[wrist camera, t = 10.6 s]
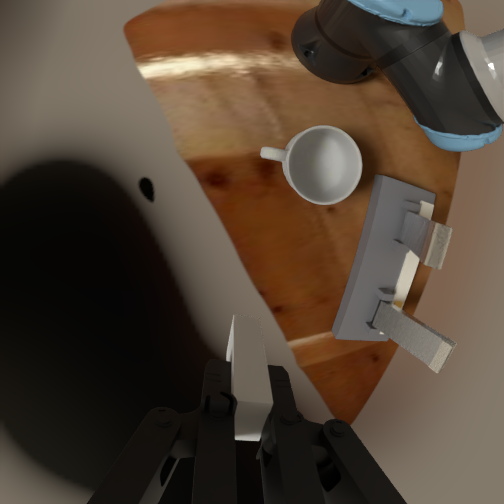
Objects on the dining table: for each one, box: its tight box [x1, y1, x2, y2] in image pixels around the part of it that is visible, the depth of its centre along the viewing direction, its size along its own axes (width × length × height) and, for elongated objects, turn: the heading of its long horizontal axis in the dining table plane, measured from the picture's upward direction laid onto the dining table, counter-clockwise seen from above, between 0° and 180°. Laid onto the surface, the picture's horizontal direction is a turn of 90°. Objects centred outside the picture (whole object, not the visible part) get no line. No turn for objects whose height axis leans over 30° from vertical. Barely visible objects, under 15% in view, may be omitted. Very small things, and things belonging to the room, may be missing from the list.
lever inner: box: [399, 211, 453, 269], centre depth 35 cm, size 5×2×17 cm, turn 169°
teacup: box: [261, 125, 362, 205], centre depth 39 cm, size 14×11×8 cm
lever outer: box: [371, 299, 457, 373], centre depth 40 cm, size 5×2×17 cm, turn 169°
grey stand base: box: [331, 174, 436, 341], centre depth 46 cm, size 30×12×6 cm, turn 169°
